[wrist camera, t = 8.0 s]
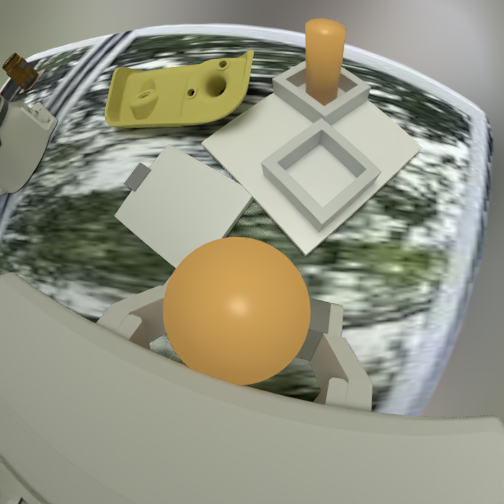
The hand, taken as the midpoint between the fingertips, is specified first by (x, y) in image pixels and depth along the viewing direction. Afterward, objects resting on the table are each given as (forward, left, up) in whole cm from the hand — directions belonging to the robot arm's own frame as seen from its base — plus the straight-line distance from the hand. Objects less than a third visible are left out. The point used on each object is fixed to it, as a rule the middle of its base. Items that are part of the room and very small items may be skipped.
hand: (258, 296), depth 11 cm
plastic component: (-26, +7, -14) cm, 30 cm away
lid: (-13, -1, -14) cm, 19 cm away
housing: (-9, +14, -14) cm, 21 cm away
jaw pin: (0, -1, -5) cm, 5 cm away
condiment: (-81, -14, -14) cm, 84 cm away
